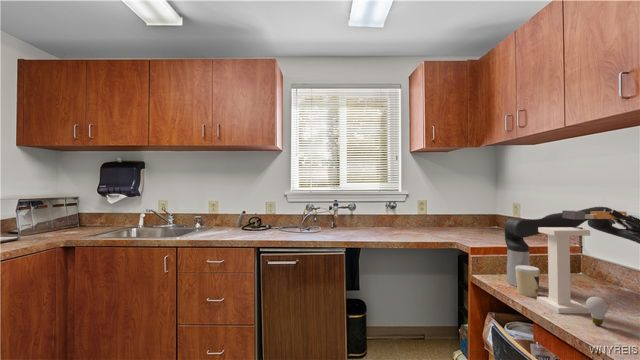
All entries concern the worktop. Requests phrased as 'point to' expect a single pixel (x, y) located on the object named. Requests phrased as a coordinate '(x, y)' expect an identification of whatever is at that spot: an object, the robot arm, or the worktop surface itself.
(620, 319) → the worktop surface
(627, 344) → the worktop surface
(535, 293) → the coffee cup
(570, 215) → the putter
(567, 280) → the white pedestal stand
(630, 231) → the robot arm
